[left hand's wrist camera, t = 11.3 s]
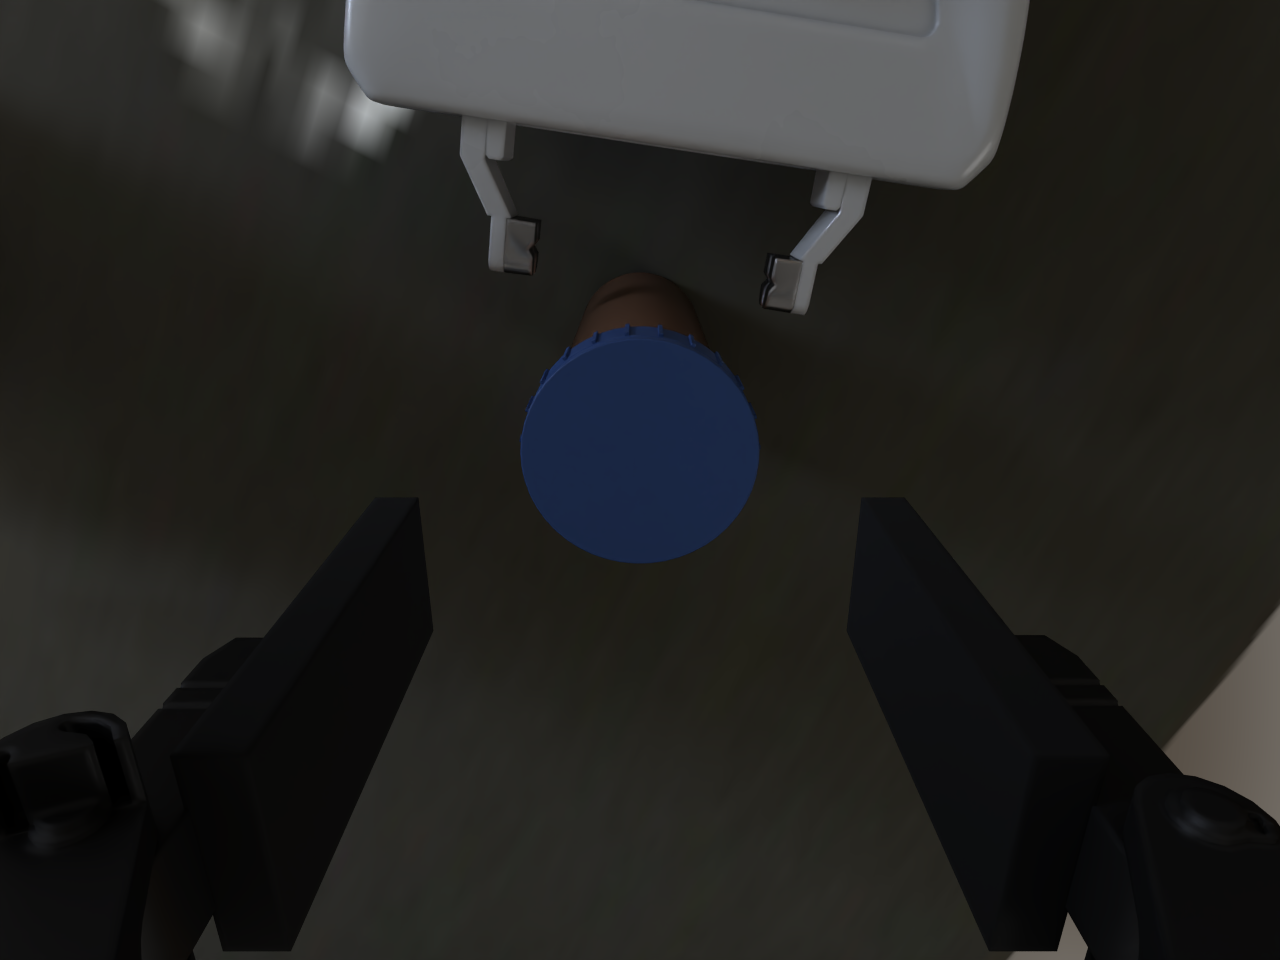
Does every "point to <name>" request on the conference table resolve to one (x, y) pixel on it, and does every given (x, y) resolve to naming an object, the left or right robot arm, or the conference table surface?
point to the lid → (639, 445)
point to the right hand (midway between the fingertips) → (648, 291)
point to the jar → (639, 307)
